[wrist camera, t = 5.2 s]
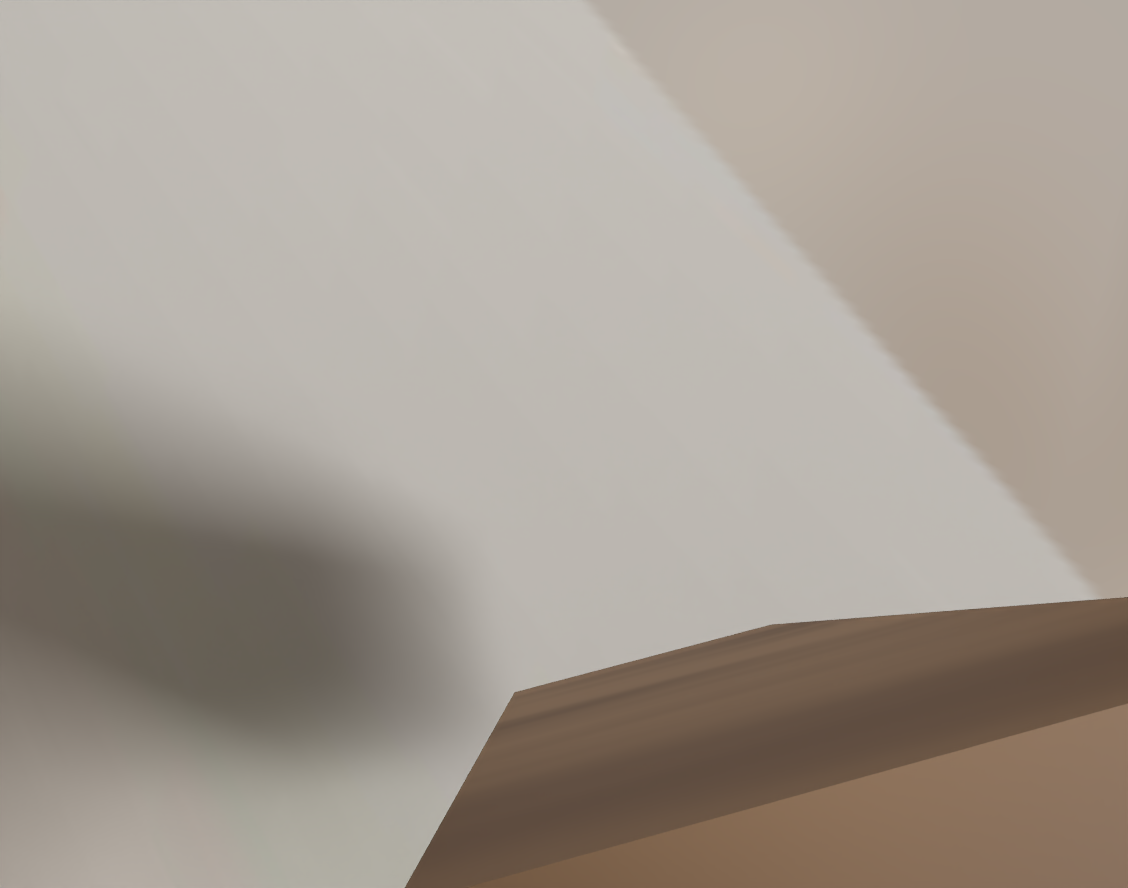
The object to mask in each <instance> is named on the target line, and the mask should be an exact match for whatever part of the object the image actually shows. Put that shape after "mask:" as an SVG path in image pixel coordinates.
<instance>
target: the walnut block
mask: <svg viewBox="0 0 1128 888" xmlns="http://www.w3.org/2000/svg"><path fill="white" fill-rule="evenodd" d="M405 888H1128V597H1124V598H1111V599H1098V600H1085V601H1072V602H1059V603H1046V604H1033V605H1020V606H1007V607H994V608H981V609H968V610H955V611H943V612H929V613H917V614H904V615H891V616H878V617H865V618H852V619H839V620H826V621H813V622H800V623H787V624H774V625H768V626H765V627H761V628H757V629H753V630H749V631H746V632H742V633H738V634H734V635H731V636H727V637H723V638H719V639H715V640H712V641H708V642H704V643H700V644H696V645H693V646H689V647H685V648H681V649H677V650H674V651H670V652H666V653H662V654H659V655H655V656H651V657H647V658H643V659H640V660H636V661H632V662H628V663H624V664H621V665H617V666H613V667H609V668H605V669H602V670H598V671H594V672H590V673H586V674H583V675H579V676H575V677H571V678H568V679H564V680H560V681H556V682H552V683H549V684H545V685H541V686H537V687H533V688H530V689H526V690H522V691H518V692H515V693H514V694H513V696H512V698H511V700H510V701H509V703H508V705H507V707H506V709H505V710H504V712H503V714H502V716H501V717H500V719H499V721H498V723H497V725H496V726H495V728H494V730H493V732H492V733H491V735H490V737H489V739H488V741H487V742H486V744H485V746H484V748H483V749H482V751H481V753H480V755H479V757H478V758H477V760H476V762H475V764H474V766H473V767H472V769H471V771H470V773H469V774H468V776H467V778H466V780H465V782H464V783H463V785H462V787H461V789H460V790H459V792H458V794H457V796H456V798H455V799H454V801H453V803H452V805H451V806H450V808H449V810H448V812H447V814H446V815H445V817H444V819H443V821H442V822H441V824H440V826H439V828H438V830H437V831H436V833H435V835H434V837H433V839H432V840H431V842H430V844H429V846H428V847H427V849H426V851H425V853H424V855H423V856H422V858H421V860H420V862H419V863H418V865H417V867H416V869H415V871H414V872H413V874H412V876H411V878H410V879H409V881H408V883H407V885H406V887H405Z"/></svg>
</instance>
